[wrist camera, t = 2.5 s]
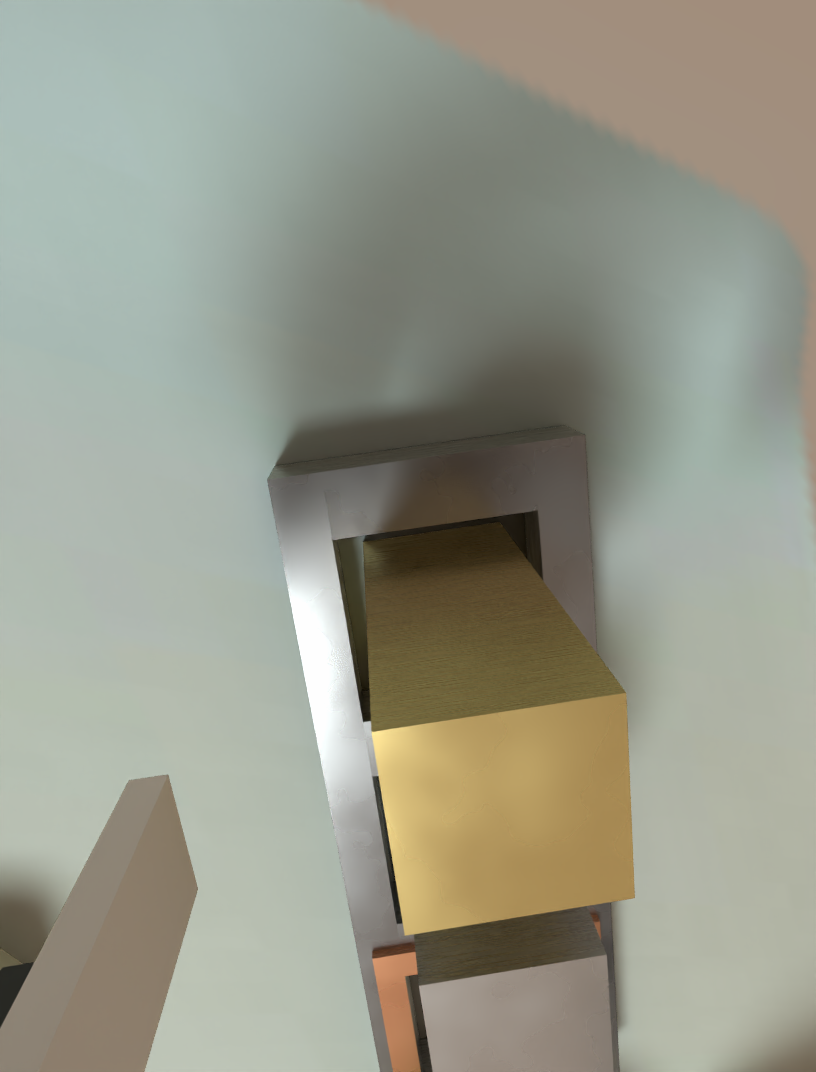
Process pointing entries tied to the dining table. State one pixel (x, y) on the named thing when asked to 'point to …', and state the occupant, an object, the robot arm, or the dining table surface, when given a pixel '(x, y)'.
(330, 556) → the grey compartment tray
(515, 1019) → the grey rectangular block
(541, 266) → the dining table surface
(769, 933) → the dining table surface
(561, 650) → the brass block
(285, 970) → the dining table surface
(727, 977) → the dining table surface
